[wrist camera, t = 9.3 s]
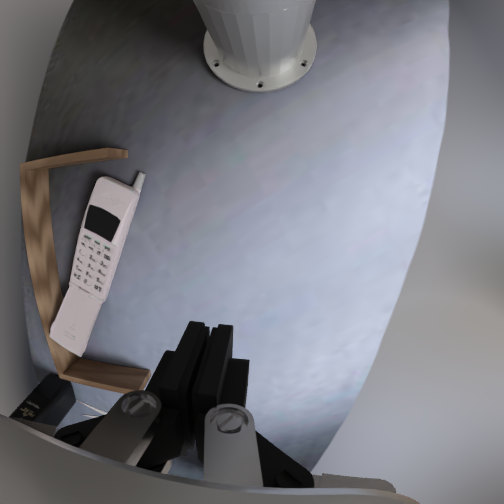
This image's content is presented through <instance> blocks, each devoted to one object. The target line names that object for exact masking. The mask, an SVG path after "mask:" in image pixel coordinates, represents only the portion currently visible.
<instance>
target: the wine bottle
mask: <svg viewBox="0 0 504 504" xmlns="http://www.w3.org/2000/svg"><path fill="white" fill-rule="evenodd" d="M75 402H76V398H75V395H74V391H73V388H72V385H71V383H70V382H69V381H68V380H64V379H61V378H60V377H59V376H56V375H54V374H48V375H47V376H46V377H45V378H44V379H43V380H42V381H41V383H40V384H39V385H38V386H37V387H36V388H35V389H34V390H33V391H32V392H31V393H30V394H29V395H28V396H27V398H26V399H25V400H24V401H23V402H22V403H21V404H20V405H19V406H18V407H17V409H16V410H15V411H14V412H13V413H12V414H11V415H10V416H9V418H10V417H17V418H21V419H25V420H29V421H34V422H38V423H43V424H48V425H53V426H57V427H58V425H59V424H60V422H61V421H62V420H63V418H64V417H65V416H66V414H67V413H68V412H69V410H70V409H71V408H72V406H73V405H74V404H75Z"/></svg>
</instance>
